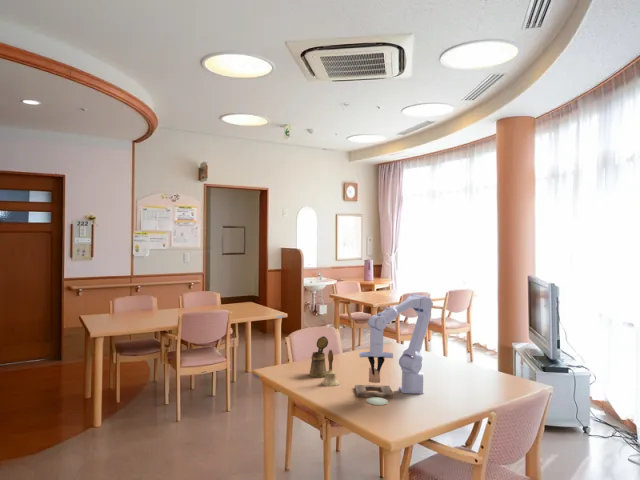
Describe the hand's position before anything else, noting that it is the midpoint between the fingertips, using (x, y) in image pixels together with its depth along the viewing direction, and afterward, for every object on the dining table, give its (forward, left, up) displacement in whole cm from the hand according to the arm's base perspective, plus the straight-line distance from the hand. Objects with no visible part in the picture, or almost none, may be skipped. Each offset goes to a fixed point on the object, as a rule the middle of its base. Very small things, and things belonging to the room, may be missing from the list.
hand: (375, 374), depth 197 cm
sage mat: (0, +6, -10) cm, 12 cm away
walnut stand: (0, -5, -10) cm, 11 cm away
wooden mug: (+24, -32, -10) cm, 41 cm away
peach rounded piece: (0, -1, -4) cm, 4 cm away
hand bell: (+19, -17, -10) cm, 27 cm away
